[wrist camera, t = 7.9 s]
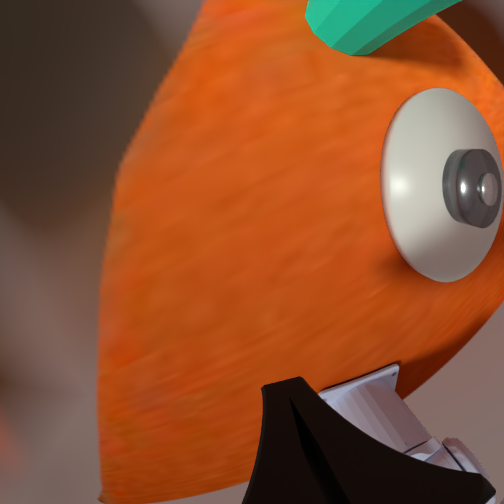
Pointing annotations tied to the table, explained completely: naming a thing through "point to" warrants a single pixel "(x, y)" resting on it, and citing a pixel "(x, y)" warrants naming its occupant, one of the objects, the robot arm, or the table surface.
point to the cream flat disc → (433, 183)
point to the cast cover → (472, 187)
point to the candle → (367, 21)
